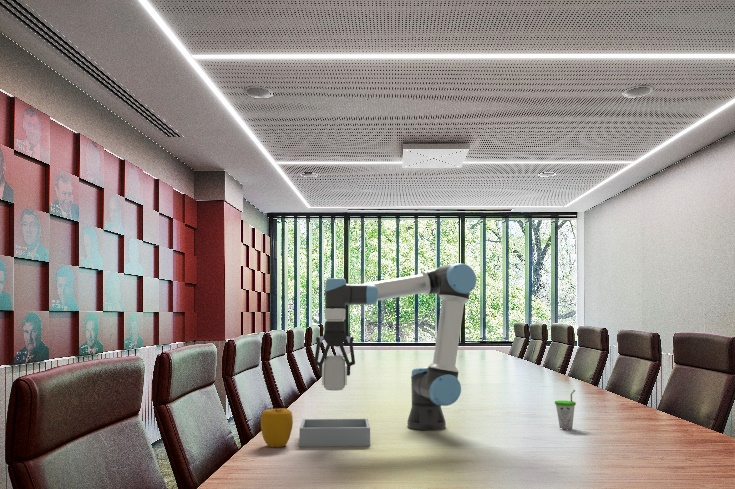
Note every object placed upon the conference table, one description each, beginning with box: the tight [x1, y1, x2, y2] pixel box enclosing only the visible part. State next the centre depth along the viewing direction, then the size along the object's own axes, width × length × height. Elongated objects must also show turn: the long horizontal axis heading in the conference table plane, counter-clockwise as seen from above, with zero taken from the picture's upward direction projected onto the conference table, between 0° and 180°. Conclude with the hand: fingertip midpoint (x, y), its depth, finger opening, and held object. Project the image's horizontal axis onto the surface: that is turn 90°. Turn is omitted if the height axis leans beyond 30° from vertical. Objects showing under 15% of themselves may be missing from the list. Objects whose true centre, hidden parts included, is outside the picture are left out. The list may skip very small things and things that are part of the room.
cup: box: [554, 389, 577, 430], centre depth 241 cm, size 8×8×15 cm
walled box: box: [298, 418, 371, 447], centre depth 218 cm, size 24×18×6 cm
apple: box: [260, 407, 294, 448], centre depth 210 cm, size 11×11×13 cm
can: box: [323, 355, 346, 392], centre depth 222 cm, size 8×8×12 cm
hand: (334, 384), depth 221 cm, fingers closed on can, 7 cm apart
